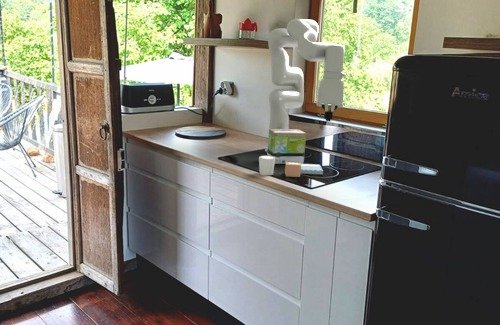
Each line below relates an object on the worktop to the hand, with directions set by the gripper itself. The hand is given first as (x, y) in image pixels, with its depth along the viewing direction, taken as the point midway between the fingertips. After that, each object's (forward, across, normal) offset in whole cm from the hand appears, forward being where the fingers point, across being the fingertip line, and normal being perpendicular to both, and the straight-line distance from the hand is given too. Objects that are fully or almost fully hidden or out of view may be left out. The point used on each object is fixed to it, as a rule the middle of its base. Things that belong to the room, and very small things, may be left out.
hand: (327, 120), depth 190 cm
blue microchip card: (+23, +7, -4) cm, 25 cm away
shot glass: (+23, +24, +4) cm, 34 cm away
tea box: (+24, +15, -18) cm, 34 cm away
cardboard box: (+23, +13, +4) cm, 27 cm away
